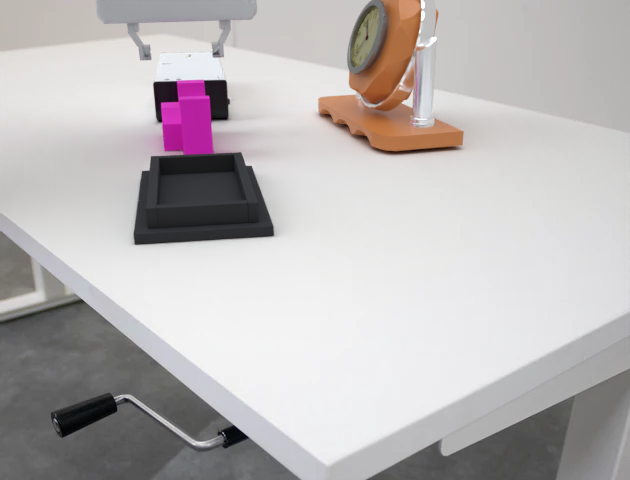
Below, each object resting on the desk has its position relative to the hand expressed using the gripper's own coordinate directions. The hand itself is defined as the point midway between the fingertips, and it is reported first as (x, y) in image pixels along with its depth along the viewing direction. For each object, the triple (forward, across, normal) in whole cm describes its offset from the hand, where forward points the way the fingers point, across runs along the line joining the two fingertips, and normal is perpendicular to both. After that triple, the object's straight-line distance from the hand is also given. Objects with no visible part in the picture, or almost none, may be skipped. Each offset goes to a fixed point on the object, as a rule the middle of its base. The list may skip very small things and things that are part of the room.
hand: (182, 58), depth 100 cm
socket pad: (+11, +1, -27) cm, 29 cm away
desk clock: (+12, +29, +5) cm, 31 cm away
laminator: (+12, +2, +32) cm, 34 cm away
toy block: (+12, 0, 0) cm, 12 cm away
